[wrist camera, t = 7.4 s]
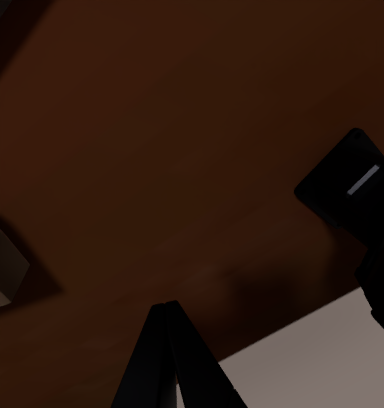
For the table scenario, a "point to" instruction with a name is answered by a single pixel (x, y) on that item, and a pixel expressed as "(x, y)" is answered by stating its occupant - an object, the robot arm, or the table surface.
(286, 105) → the table surface
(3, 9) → the picture frame
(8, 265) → the streaky grey slab
